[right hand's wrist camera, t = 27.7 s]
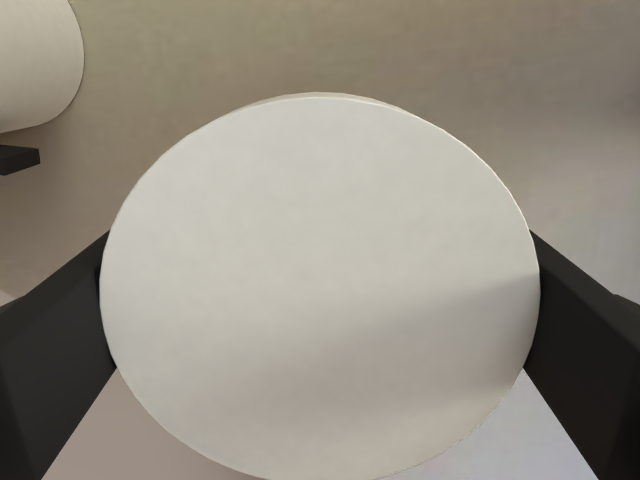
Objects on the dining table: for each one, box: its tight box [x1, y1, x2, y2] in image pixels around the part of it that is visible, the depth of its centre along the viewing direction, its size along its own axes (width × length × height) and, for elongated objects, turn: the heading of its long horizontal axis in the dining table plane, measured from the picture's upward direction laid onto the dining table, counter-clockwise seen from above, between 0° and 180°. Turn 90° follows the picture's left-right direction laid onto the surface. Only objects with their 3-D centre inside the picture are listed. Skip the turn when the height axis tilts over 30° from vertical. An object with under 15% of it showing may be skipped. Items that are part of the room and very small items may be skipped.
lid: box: [99, 92, 540, 480], centre depth 11 cm, size 10×10×2 cm
